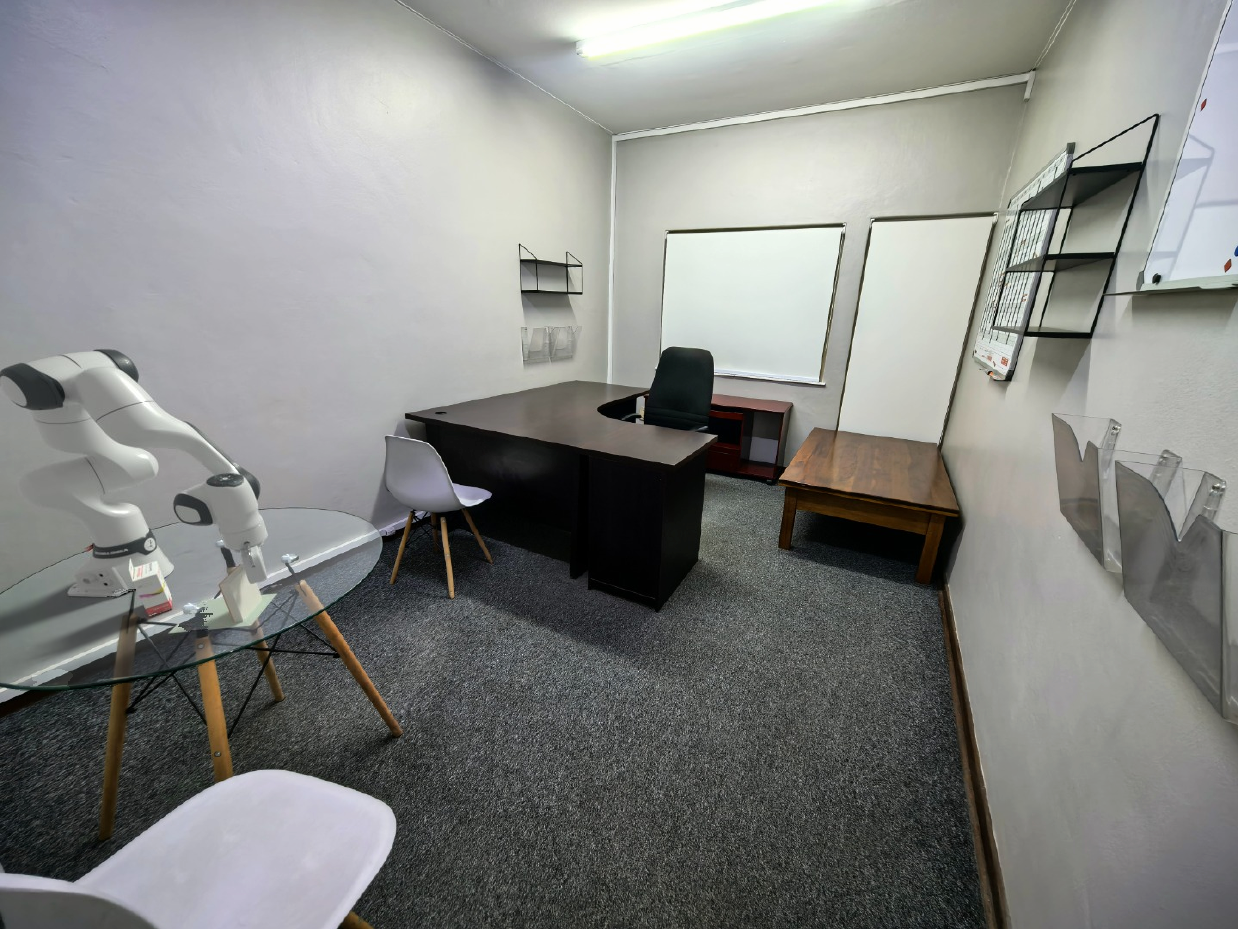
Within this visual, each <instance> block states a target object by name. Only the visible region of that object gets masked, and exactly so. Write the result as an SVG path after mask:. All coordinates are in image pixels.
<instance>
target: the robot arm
mask: <svg viewBox="0 0 1238 929" xmlns="http://www.w3.org/2000/svg"><path fill="white" fill-rule="evenodd" d="M139 378H140V374H139V371H138V368H137V366H136V365H135V364H134V362H133V361H132V359H131V358H130V357H129V356H127V355H126V354H124V353H123V352H121V351H119V350H117V349H109V348H103V349H102V348H100V349H98V348H97V349H94V350H92V351H90V350H88V351H77V352H69V353H67V352H66V353H62V354H57V355H55V356H49V357H45V358H41V359H40V358H39V359H36V360H33V361H28V362H20V363H15V364H12V365H10V366H6V367H4V368H2V369H0V388H1V390H2V392H3V394H4V395H5V397H7V398H8V399H9V400H10V401H12V403H14V404H15V405H17V406H19V407H20V408H23V409H26V410H29V411H30V414H31V417H32V418H33V420H34V422H35V424H36V427H37V429H38V431H39V434H40V436H41V438H42V440H43V442H44V443H45V444H46V445H47V446H48V447H50V448H52V449H55V450H56V451H60V452H64V453H69V454H70V453H71V454H78V455H79V454H82V455H85V456H83V457H79V458H74V459H69V460H65V461H64V460H63V461H59V462H54V463H49V464H45V465H43V466H40V467H37V468H34V469H31V470H29V471H27V472H24V473H22V474H21V475H20V477H19V479H18V481H17V484H16V488H17V492H18V494H19V496H20V497H21V498H22V499H23V500H24V501H25V502H27V503H28V504H30V505H32V506H35V507H39V508H44V509H50V510H56V511H59V512H62V513H65V514H68V515H69V516H71V517H73V518H75V519H76V520H77V521H78V522H79V523H80V524H81V525H82V526H83V527H84V529H85V530H86V532H87V533H88V535H89V536H90V538H91V540H92V543H91V544H90V545H88V546H87V547H85V548H84V550H86V551H85V552H86V553H88V552H89V551H92V554H91V556H89V557H88V558H87V560H85V561H84V562H83V563H82V564H81V565H80V566H79V567H78V568H76V570H75V572H74V578H75V582H76V583H74V584H73V585H71V587H70V588H69V589H68V590H67V596H68V597H93V598H108V597H107V596H112V595H117V594H120V593H121V592H123V589H124V591H126V590H128V589H135V587H134V585H133V583H132V580H131V577H130V574H129V560H130V559H131V561H132V565H133V568H134V567H138V566H141V565H144V564H148V563H151V562H155V561H157V563H158V566H159V568H160V570H161V573H162V575H163V577H164V579H165V578H166V577H168V576H169V575H170V574H171V573H172V572H173V571H174V569H175V565H174V564H173V563H172V562H171V561H170V560H169V558H168V557H167V556H166V555H165V554H164V552H163V551H162V549H161V547H159V545H158V544H157V540H156V539H157V538H156V537H155V534H154V532H153V530H152V529H151V528H150V527H149V526H148V524H147V522H146V520H145V518H144V515H143V512H142V511H141V509H140V507H138V506H137V505H136V504H135V505H134V504H132V503H129V502H122V501H121V502H120V501H108V500H107V501H106V500H101V497H102V496H104V495H108V494H111V493H116V492H118V491H119V492H120V491H123V490H126V489H127V490H128V489H130V488H135V487H137V486H139V485H142V484H144V483H147V482H149V481H151V480H153V479H155V478H156V477H157V475H158V474H159V473H158V472H159V470H160V469H159V467H160V466H159V462H158V460H157V458H156V457H155V456H154V455H153V454H152V453H151V452H149V451H147V450H148V449H171V450H178V451H182V452H185V453H188V454H189V455H191V456H192V457H193V458H194V459H195V460H196V461H197V462H199V463H200V464H201V465H202V466H203V467H205V468H206V469H207V470H208V471H209V472H210V473H211V474H212V476H210V477H209V478H207V479H206V480H205V481H204V482H203V483H198V484H196V485H194V486H191V487H189V488H187V489H184V490H182V491H181V492H179V493H177V494H176V495H175V497H173V498H174V499H173V502H172V507H173V511H174V514H175V516H176V518H177V519H178V520H179V521H180V522H181V523H183V524H185V525H189V526H194V527H207V526H211V525H214V526H217V527H218V532H219V535H220V538H221V540H222V543H223V546H224V548H225V549H227V550H231V551H233V552H235V553H240V558H241V559H240V560H241V564H243V567H244V570H245V573H246V575H247V578H248V581H249V583H250V584H254V583H257V584H260V583H262V582H265V581H266V580H267V579H268V575H267V569H266V566H265V561H264V557H263V553H262V550H261V549H262V548H261V547H262V546H264V543H265V540H266V539H267V538H268V536H269V534H268V531H267V528H266V524H265V521H264V518H263V516H262V515H261V514H260V512H259V503H258V500H259V498H260V494H261V484H260V482H259V480H258V478H257V477H255V476H254V475H253V473H250V472H249V471H248V470H246V469H245V468H244V467H242V466H240V465H239V464H238V463H237V462H235V461H234V460H233V459H232V458H231V457H230V455H228V454H227V453H226V452H225V451H224V450H222V448H220V447H219V446H218V444H216V443H215V442H214V441H213V440H211V438H209V437H208V436H207V435H206V434H205V433H204V432H203V431H201V430H200V429H199V428H198V427H196V426H195V425H194V424H193V423H190V422H189V421H185V420H182V419H178V418H176V417H175V416H173V415H171V414H170V413H168V412H167V411H165V410H164V409H163V408H162V407H160V406H159V405H158V403H157V402H156V401H155V400H154V399H153V398H152V397H151V395H150V394H149V393H148V392H147V391H146V390H145V389H144V388H143V386H141V385H140V384H139V383H138V382H139ZM145 449H147V450H145ZM119 589H121V590H119ZM115 590H118V591H116V592H115ZM114 592H115V593H114Z"/></svg>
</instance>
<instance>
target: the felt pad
mask: <svg viewBox="0 0 1238 929" xmlns="http://www.w3.org/2000/svg"><path fill="white" fill-rule="evenodd" d="M277 594H278V593H266V594H261V596H262V600H261V601H260V603H259V604H258V605H257V606H256V607H255V608H254V610H253V611H252V612H251V613H250V614H249V615H248V617H247V618H246V619H245V620H244V621H241V622H233V620H232V617H231V615H230V613H229V610H228V608H227V605H226V603H225V600H224V598H223V597H221V598H220V597H219V598H210V599H208V598H207V599H202V600H201V601H200V602H199V603H198V604H196V606H195V607H208V608H207V610H206V609H205V610H204V612H203V610H202V612H200V613H213V615H210V617H209V615H207V617H206V618H203V619H204V621H207V622H204V626H209V627H208V628H209V629H208V628H207V629H208V630H207V631H210V630H219V629H220V630H221V629H231V628H232V629H233V628H241V627H242V628H243V627H251V626H252V625H253V624H254V623H255V621H257V619H258V618H259V616H260V615H261V614H262V613H263V612H264V610H265V609H267V607H268V606H269V604H270V603H271V602H272V601H273V600H274V598H275V597H276V596H277ZM205 601H207V602H205ZM203 602H204V604H205V603H207V604H206V605H203ZM209 609H210V610H209ZM192 612H193V613H195V612H194V611H192V610H191V611H189V613H192ZM189 613H187V615H188V616H189ZM205 616H206V615H205ZM205 619H206V620H205ZM178 626H179V622H178V623H177V624H176V625H175V626H174V627H173V628H172V629H171V630H170V631H169V632H168V634H175V633H187V632H188V631H186V630H184V628H182V627H178ZM202 626H203V625H202ZM188 633H189V632H188Z"/></svg>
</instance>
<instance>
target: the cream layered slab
mask: <svg viewBox="0 0 1238 929" xmlns="http://www.w3.org/2000/svg"><path fill="white" fill-rule="evenodd" d="M218 587H219V590H220V592H221V595H222V598H224V600H225V603H226V605H227V608H228V610H229V613H230V615H231V617H232V620H233V622H241V621H244V620H245V619H246V618H247V617H248V615H249V614H250V613H251V612H252V611H253V610H254V608H255V607H256V606H257V605H258V604H259V603H260V601H261V600H262V596H261V595H262V592H261V591H260V589H259V585H258V583H254V584H250V583H249V581H248V578H247V575H246V573H245V570H244V567H243V564H242V563H240V564H238V565H237V566H236V567H235V568H234V569H233V570H232V571H231V572H229V574H228V575H227V576H226V577H225V578H224V579H223V580H222V581H221V582H220V583H219V584H218Z"/></svg>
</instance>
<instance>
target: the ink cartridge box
mask: <svg viewBox="0 0 1238 929" xmlns="http://www.w3.org/2000/svg"><path fill="white" fill-rule="evenodd" d="M129 574H130V577H131V580H132V583H133V585H134V587H135V589H136V590H135V591H136V593H137V595H138V597H139V599H140V601H141V603H142V606H143V607H144V609H145V611H146V613H147V615H148V616H149V615H152V614H154V613H160V612H163V613H165V611H166V612H168V611H167V610H169V611H171V610H170V609H172V610H173V598H172V597H171V595H172V594H171V592H170V588H169V586H168V584H167V582H166V580H165V578H164V577H163V575H162V573H161V570H160V568H159V566H158V563H157V561H155V562H151V563H148V564H144V565H141V566H138V567H134V568H133V565H132V561H131V559H130V560H129ZM160 614H161V613H160Z"/></svg>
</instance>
